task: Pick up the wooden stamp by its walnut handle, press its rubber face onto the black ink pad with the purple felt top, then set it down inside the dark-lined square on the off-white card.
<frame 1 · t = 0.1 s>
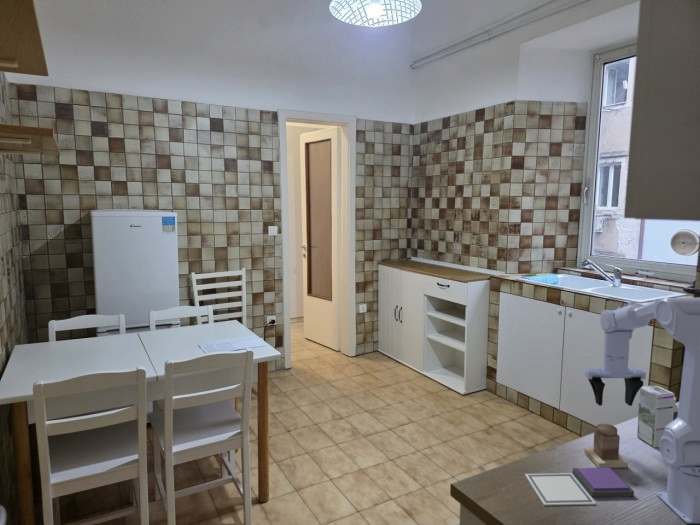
hand: (613, 404, 122), 10 cm above the table, tool pointing down, fingers open, 7 cm apart
stamp: (605, 460, 113), on the table
pill bottle: (665, 430, 127), on the table
ink pad: (601, 484, 104), on the table
syrup box: (653, 442, 121), on the table
form card: (558, 489, 102), on the table
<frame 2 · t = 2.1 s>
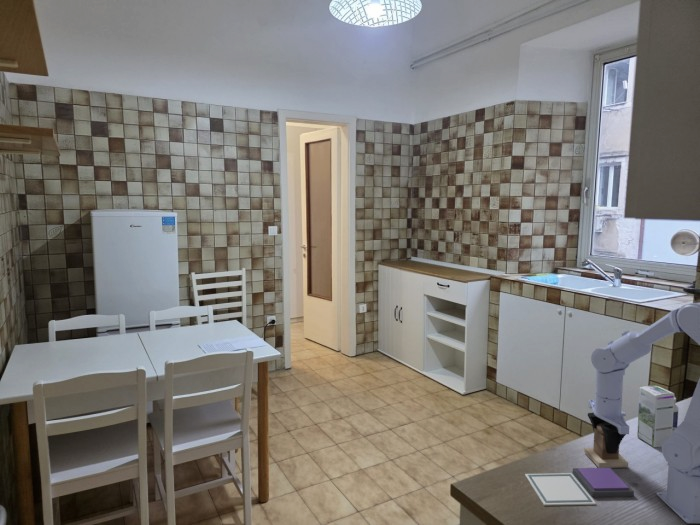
hand: (606, 447, 113), 3 cm above the table, tool pointing down, fingers closed on stamp, 4 cm apart
stamp: (605, 460, 113), on the table, touching gripper
everything else where it was.
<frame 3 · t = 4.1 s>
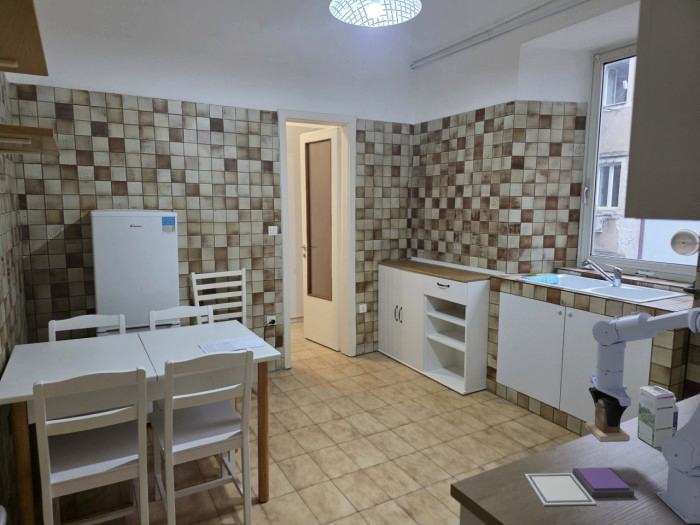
hand: (607, 421, 112), 10 cm above the table, tool pointing down, fingers closed on stamp, 4 cm apart
stamp: (606, 434, 112), point 7 cm above the table, touching gripper
everything else where it was.
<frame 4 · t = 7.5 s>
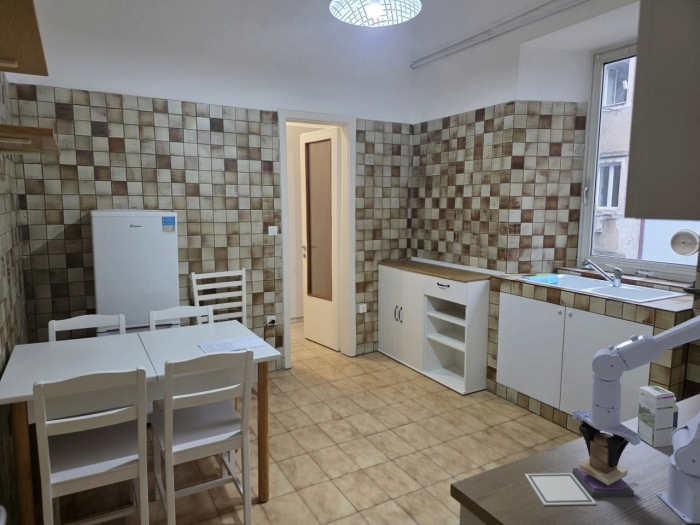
hand: (603, 460, 103), 6 cm above the table, tool pointing down, fingers closed on stamp, 4 cm apart
stamp: (602, 473, 104), point 3 cm above the table, touching gripper
everything else where it was.
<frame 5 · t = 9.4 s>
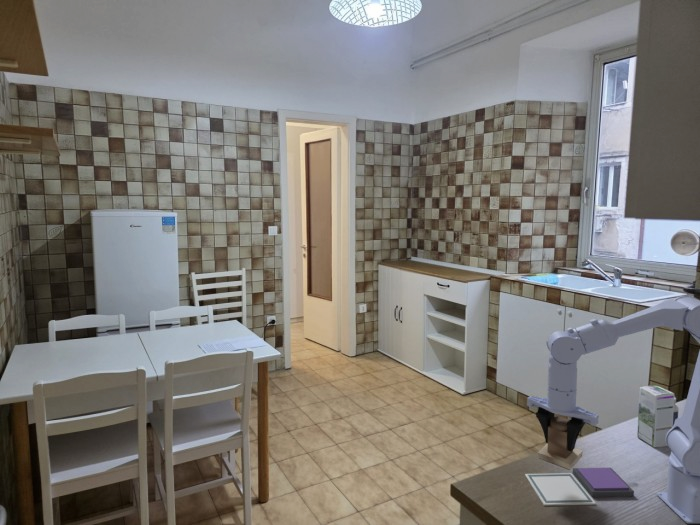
hand: (559, 445, 101), 10 cm above the table, tool pointing down, fingers closed on stamp, 4 cm apart
stamp: (559, 457, 102), point 7 cm above the table, touching gripper
everything else where it was.
when the fingers open (5 cm above the table, at t = 11.2 s): stamp drops 1 cm, resting on form card.
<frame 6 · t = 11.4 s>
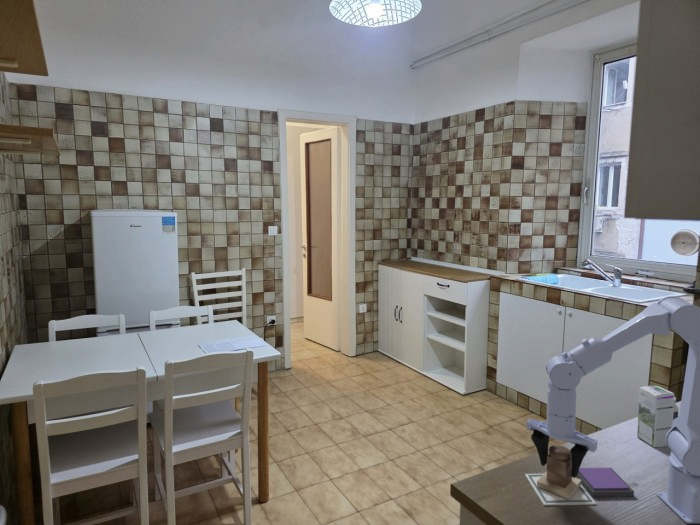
hand: (559, 469, 102), 5 cm above the table, tool pointing down, fingers open, 6 cm apart
stamp: (559, 486, 103), resting on form card
everything else where it was.
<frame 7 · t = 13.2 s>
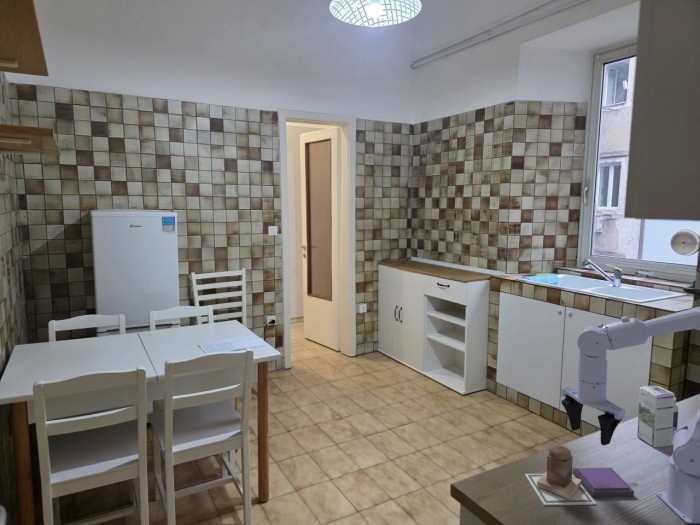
hand: (590, 436, 105), 10 cm above the table, tool pointing down, fingers open, 7 cm apart
nothing on the table moved.
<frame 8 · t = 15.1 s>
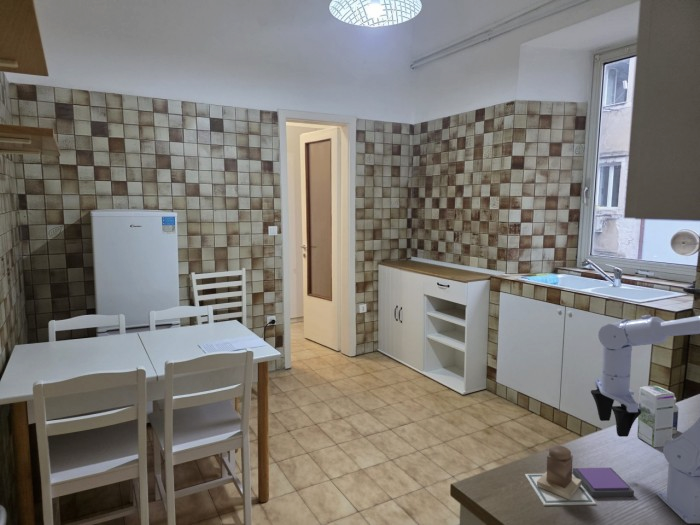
hand: (613, 427, 108), 10 cm above the table, tool pointing down, fingers open, 7 cm apart
nothing on the table moved.
at the end: stamp 0.4 cm off-centre on the form card, point 0.4 cm above the form card's base; stamp tilted 1°; the gripper is holding nothing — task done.
